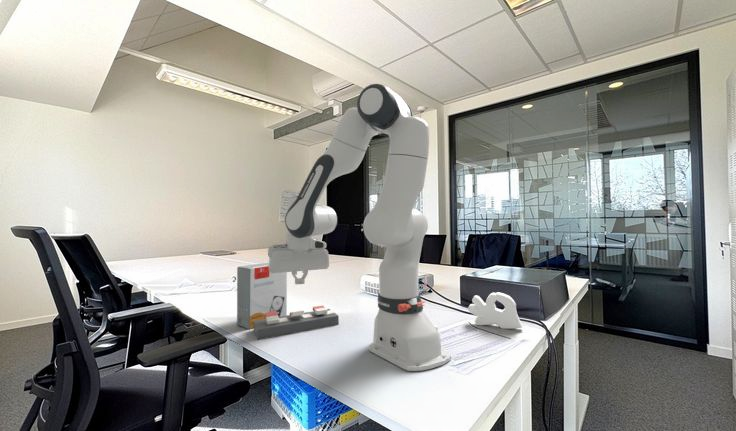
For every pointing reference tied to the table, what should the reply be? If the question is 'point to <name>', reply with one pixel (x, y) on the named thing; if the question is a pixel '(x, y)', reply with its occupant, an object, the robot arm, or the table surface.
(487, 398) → the table surface
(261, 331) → the power strip
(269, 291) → the hard drive box
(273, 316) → the rocker
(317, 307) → the rocker
